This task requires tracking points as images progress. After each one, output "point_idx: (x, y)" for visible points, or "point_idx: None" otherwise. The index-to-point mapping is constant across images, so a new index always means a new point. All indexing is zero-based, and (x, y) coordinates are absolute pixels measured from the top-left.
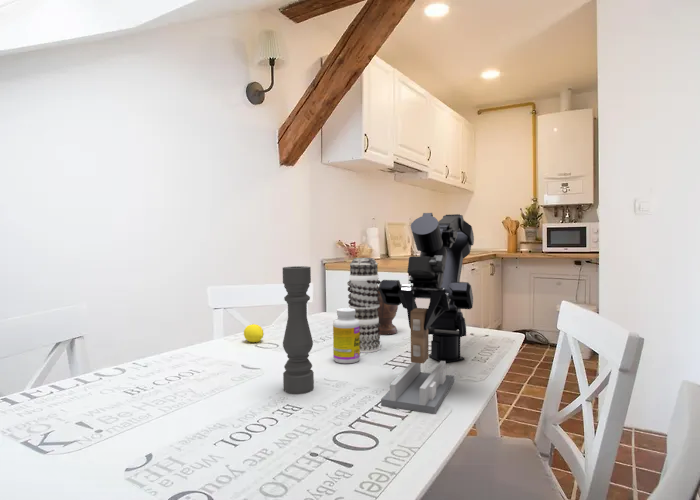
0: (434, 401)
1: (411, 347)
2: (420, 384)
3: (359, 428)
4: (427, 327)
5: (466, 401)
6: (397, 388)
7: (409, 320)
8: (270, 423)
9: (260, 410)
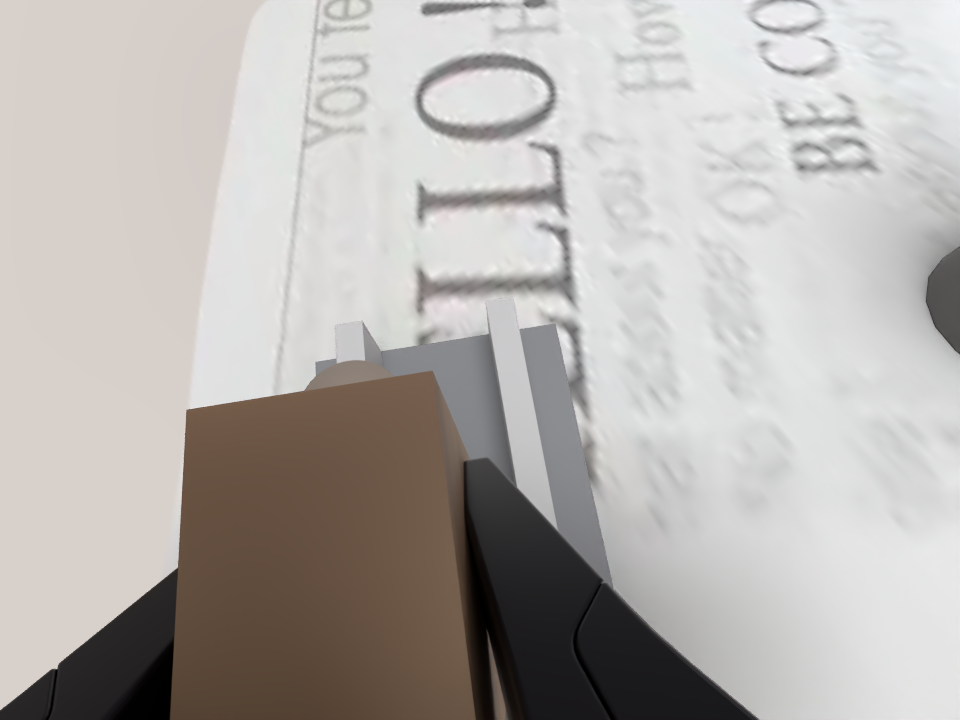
0: None
1: None
2: None
3: (515, 150)
4: None
5: None
6: (492, 346)
7: (503, 490)
8: (776, 48)
9: (899, 89)
